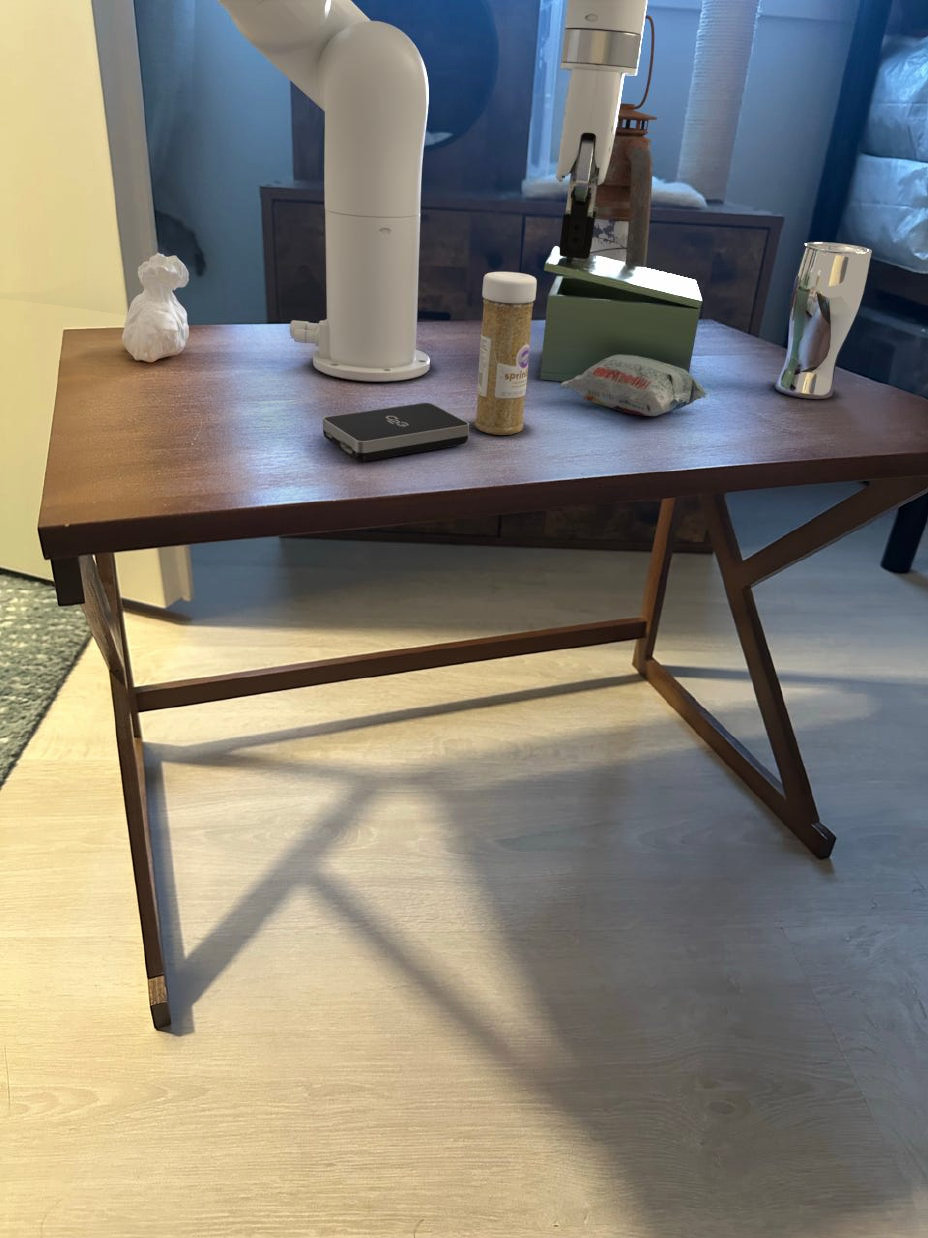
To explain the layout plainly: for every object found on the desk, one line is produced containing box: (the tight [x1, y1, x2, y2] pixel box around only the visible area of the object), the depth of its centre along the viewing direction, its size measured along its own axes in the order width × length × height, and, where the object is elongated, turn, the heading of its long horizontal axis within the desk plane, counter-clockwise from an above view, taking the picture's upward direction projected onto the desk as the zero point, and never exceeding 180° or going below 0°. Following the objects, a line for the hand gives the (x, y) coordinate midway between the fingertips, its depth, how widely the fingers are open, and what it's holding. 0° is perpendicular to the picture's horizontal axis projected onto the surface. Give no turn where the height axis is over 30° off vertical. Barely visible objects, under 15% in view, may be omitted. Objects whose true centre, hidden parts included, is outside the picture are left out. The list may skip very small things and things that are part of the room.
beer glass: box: [775, 241, 873, 400], centre depth 99 cm, size 7×7×15 cm
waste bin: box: [539, 275, 701, 383], centre depth 102 cm, size 16×12×9 cm
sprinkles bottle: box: [474, 271, 538, 436], centre depth 82 cm, size 5×5×13 cm
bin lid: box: [543, 245, 703, 309], centre depth 98 cm, size 16×12×5 cm
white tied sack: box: [121, 252, 190, 363], centre depth 98 cm, size 12×8×11 cm
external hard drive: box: [322, 402, 470, 462], centre depth 79 cm, size 7×11×2 cm, turn 124°
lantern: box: [590, 14, 658, 268], centre depth 111 cm, size 11×16×35 cm
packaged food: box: [560, 354, 708, 417], centre depth 91 cm, size 9×12×5 cm
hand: (575, 251), depth 99 cm, fingers closed on bin lid, 5 cm apart
